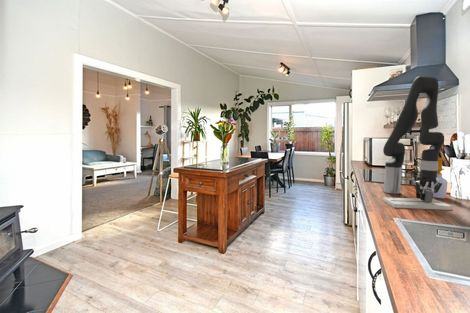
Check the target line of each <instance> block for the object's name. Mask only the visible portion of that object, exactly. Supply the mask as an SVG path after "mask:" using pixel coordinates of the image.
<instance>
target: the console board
mask: <svg viewBox="0 0 470 313" xmlns="http://www.w3.org/2000/svg"><path fill="white" fill-rule="evenodd" d="M382 202H384V203H385V204H387V205H389V206H390V207H392V208H395V209H396V208H397V209H419V210H420V209H421V210H422V209H423V210H445V211H446V210H447V211H451V210H452V205H450V204H448V203H445V202H443V201H441V200H437V199H436V198H433V199H432V202H424V201H422V200H420V199H418V198H412V197H409V198H407V197H405V198H404V197H385V196H384V197H382Z"/></svg>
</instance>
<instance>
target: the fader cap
mask: <svg viewBox="0 0 470 313" xmlns="http://www.w3.org/2000/svg"><path fill="white" fill-rule="evenodd" d="M424 194H425V199H424V200H422V201H424V202H432V197H433V191H430V190H427V189H426V190H425V193H424ZM420 200H421V199H420Z"/></svg>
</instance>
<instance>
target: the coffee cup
mask: <svg viewBox="0 0 470 313" xmlns="http://www.w3.org/2000/svg"><path fill="white" fill-rule="evenodd" d="M419 179H420V176H418V177H417V178H415V182H416V181H419ZM419 184H420V183H419ZM419 186H421V184H420V185H419ZM427 190H428V187H427ZM415 199H420V192H418V191H416V190H415Z"/></svg>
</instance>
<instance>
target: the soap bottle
mask: <svg viewBox="0 0 470 313" xmlns="http://www.w3.org/2000/svg"><path fill="white" fill-rule="evenodd" d="M444 160H446V157H438V172H437V178H436V180H437V182H440V183H442V185H441V187H440V189H439V190H438V192H437V193H434V194H433V199H446V198H447V191H448V190H447V189H448V180H447V179H446V178H444V177H443V173H441V172H442V171H445V168H443V161H444ZM434 187H435V185H434Z"/></svg>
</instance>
